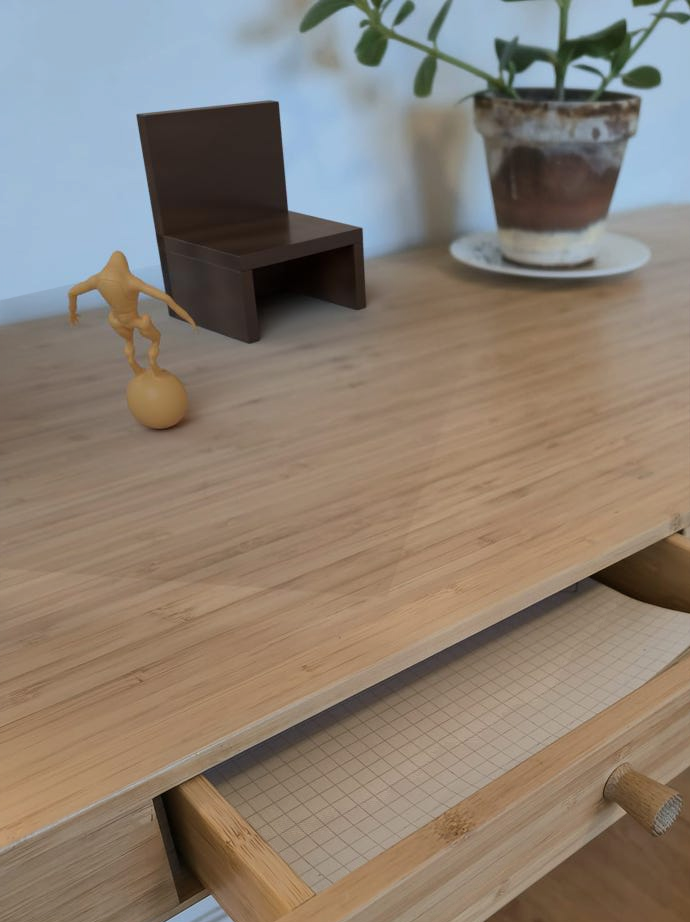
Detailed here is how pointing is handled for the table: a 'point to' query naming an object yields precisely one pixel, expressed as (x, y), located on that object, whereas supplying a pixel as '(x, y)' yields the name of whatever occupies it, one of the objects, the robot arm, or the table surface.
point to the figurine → (150, 390)
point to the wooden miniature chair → (238, 219)
